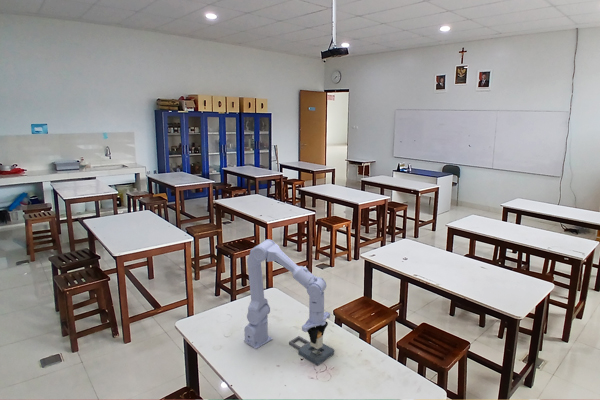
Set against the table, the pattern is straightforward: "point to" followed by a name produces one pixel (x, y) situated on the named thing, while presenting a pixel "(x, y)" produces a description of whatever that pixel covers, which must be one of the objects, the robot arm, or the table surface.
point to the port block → (315, 358)
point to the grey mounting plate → (297, 340)
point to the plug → (318, 341)
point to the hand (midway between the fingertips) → (316, 340)
